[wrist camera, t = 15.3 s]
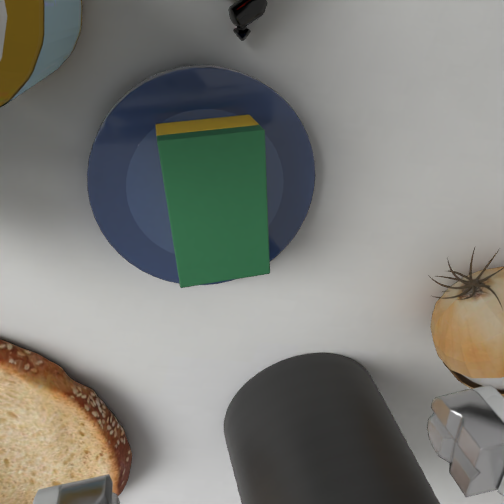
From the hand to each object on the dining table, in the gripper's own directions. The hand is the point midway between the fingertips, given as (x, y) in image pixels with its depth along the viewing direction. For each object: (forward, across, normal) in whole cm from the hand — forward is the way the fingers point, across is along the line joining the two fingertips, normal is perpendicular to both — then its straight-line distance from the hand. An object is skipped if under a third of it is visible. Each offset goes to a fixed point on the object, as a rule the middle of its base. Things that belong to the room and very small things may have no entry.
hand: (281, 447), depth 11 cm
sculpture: (+18, -20, +13) cm, 30 cm away
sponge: (+17, -1, 0) cm, 17 cm away
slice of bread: (+18, +16, +17) cm, 29 cm away
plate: (+18, 0, 0) cm, 18 cm away
